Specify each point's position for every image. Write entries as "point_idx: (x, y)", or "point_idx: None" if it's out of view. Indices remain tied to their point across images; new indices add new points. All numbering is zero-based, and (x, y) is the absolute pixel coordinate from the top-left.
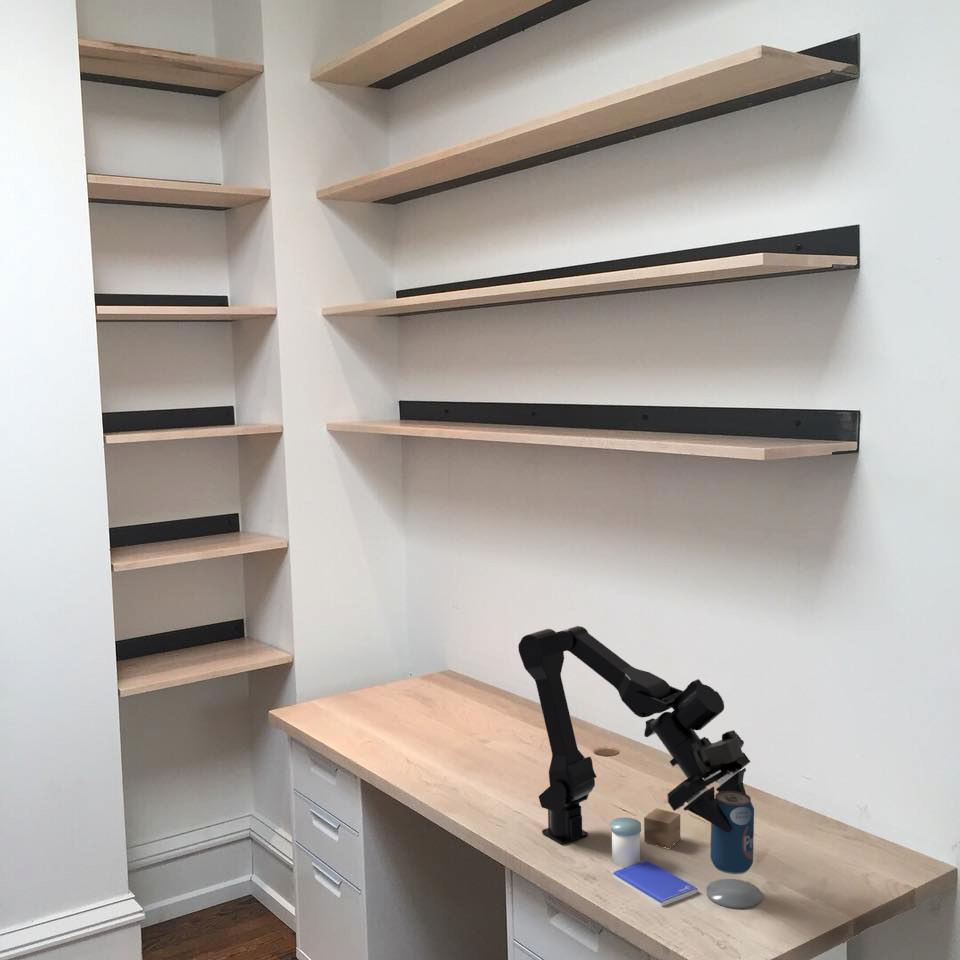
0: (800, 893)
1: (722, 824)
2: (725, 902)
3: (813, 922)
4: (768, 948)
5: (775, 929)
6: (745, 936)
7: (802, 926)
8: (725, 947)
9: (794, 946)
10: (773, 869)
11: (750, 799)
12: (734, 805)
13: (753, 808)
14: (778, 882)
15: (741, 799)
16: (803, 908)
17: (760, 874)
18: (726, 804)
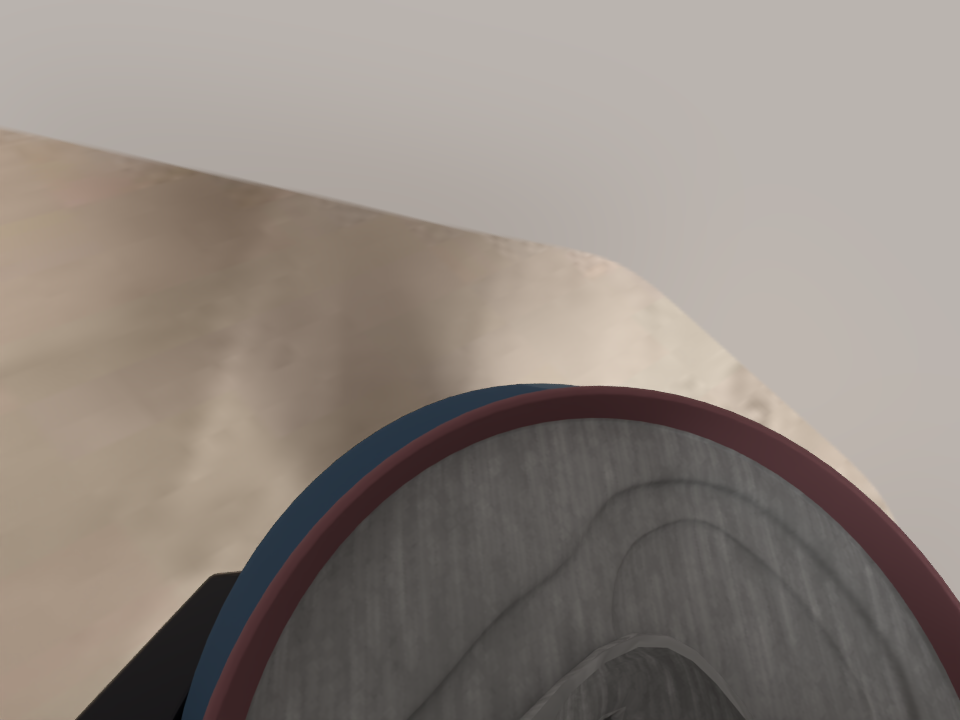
0: (211, 395)
1: None
2: None
3: (402, 265)
4: (650, 301)
5: (539, 337)
6: (653, 388)
7: (454, 281)
8: (753, 401)
9: (580, 251)
10: (20, 628)
11: (457, 417)
12: (856, 530)
13: (414, 415)
14: (164, 523)
15: (473, 650)
16: (330, 331)
17: (129, 646)
18: (954, 687)
